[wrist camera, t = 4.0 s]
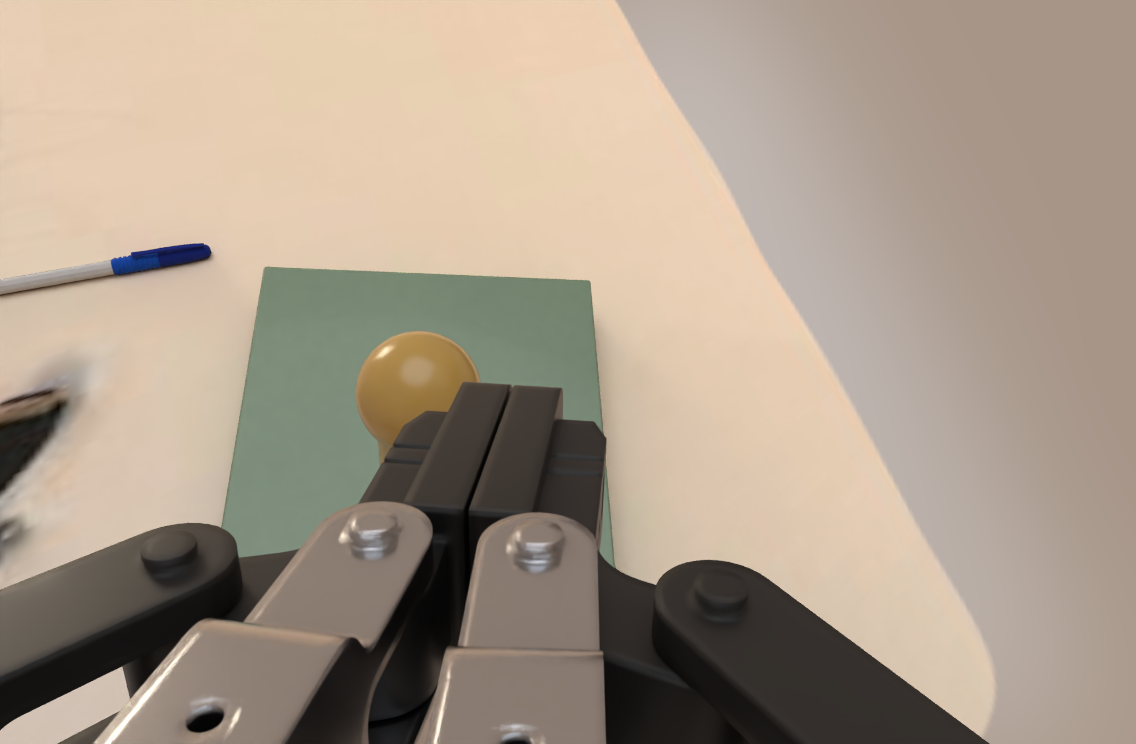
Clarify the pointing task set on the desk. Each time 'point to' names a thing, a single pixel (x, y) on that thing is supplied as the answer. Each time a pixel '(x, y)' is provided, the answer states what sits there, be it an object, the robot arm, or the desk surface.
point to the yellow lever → (409, 382)
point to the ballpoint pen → (109, 267)
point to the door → (332, 364)
